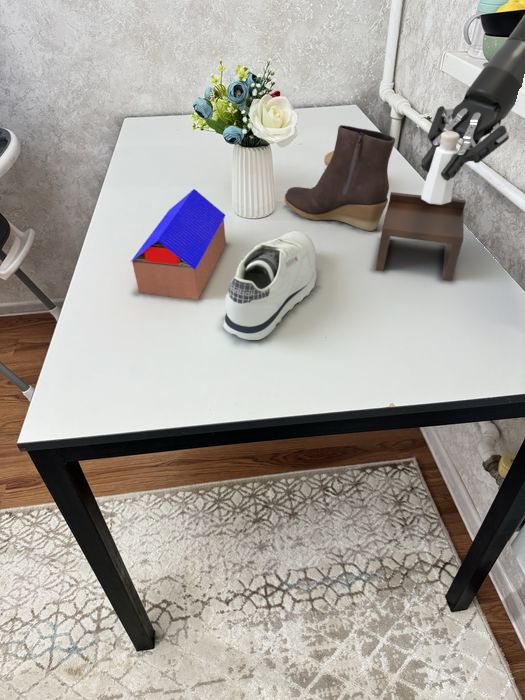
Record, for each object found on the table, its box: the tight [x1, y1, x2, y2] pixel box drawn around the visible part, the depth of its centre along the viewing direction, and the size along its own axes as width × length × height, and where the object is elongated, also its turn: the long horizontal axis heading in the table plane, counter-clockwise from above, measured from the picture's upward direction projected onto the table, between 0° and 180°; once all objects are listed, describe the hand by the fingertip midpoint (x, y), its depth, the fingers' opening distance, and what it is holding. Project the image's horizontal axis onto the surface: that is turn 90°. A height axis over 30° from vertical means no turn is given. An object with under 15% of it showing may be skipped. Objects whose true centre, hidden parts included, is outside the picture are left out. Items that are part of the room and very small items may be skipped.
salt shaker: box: [421, 131, 460, 205], centre depth 82 cm, size 5×5×11 cm
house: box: [130, 188, 227, 301], centre depth 92 cm, size 12×20×12 cm, turn 168°
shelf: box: [375, 191, 467, 282], centre depth 94 cm, size 14×12×10 cm
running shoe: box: [222, 230, 318, 341], centre depth 85 cm, size 11×29×12 cm, turn 158°
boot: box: [284, 124, 396, 232], centre depth 104 cm, size 9×24×20 cm, turn 58°
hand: (434, 173), depth 82 cm, fingers closed on salt shaker, 3 cm apart
